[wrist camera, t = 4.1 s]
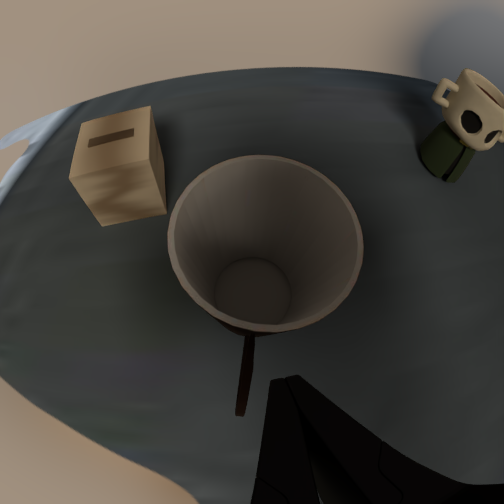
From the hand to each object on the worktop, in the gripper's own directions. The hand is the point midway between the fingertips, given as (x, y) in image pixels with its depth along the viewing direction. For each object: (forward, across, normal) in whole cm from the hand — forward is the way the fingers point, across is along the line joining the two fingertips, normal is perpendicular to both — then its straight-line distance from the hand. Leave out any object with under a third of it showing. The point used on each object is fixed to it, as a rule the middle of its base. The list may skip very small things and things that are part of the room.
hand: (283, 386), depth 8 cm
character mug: (+22, -26, -4) cm, 34 cm away
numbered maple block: (+21, +8, -3) cm, 22 cm away
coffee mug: (+12, 0, +5) cm, 13 cm away
